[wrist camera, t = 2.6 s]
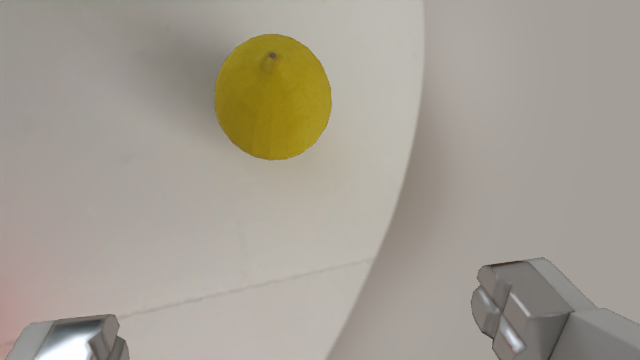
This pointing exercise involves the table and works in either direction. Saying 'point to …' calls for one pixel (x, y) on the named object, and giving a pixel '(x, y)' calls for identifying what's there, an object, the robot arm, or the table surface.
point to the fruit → (272, 97)
